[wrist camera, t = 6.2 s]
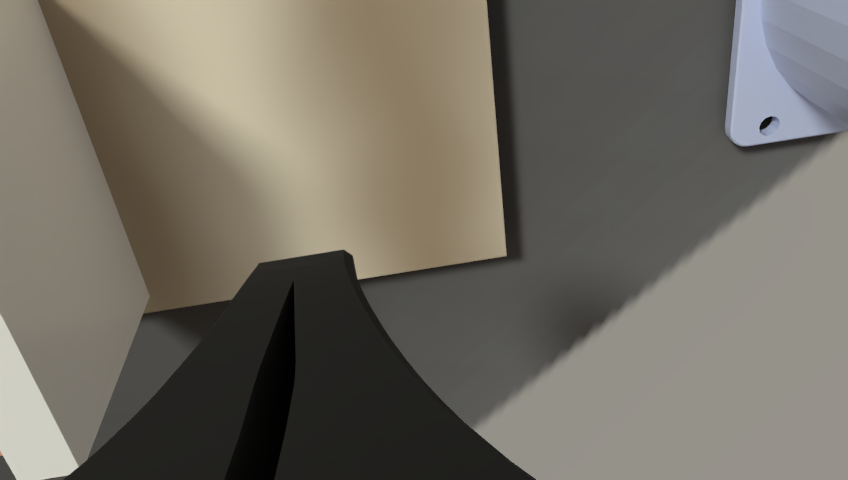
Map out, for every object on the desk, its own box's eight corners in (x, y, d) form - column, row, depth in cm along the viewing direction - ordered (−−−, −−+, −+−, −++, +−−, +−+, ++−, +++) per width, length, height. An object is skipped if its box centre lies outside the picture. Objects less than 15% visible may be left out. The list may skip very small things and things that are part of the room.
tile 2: (29, -21, 15) (-127, 66, 10) (149, 296, 19) (81, 473, 14) (-48, -9, 15) (-244, 83, 10) (88, 305, 19) (-2, 486, 14)
